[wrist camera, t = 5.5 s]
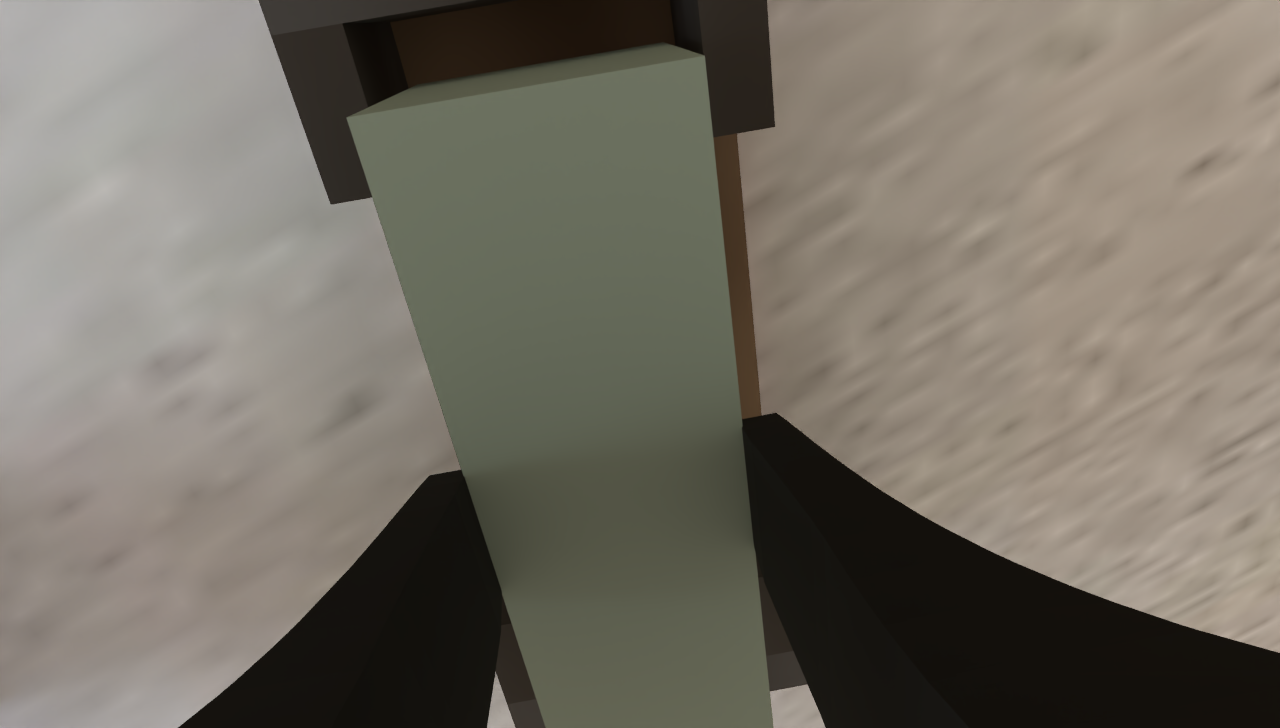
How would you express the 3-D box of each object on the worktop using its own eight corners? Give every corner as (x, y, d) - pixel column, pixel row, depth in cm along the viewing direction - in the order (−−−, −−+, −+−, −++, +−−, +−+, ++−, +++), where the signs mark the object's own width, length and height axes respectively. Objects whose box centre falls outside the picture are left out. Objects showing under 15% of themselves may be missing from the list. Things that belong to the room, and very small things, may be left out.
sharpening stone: (566, 620, 17) (564, 784, 13) (417, 84, 11) (346, 117, 8) (732, 590, 17) (775, 746, 13) (663, 41, 11) (704, 55, 8)
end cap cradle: (527, 611, 20) (519, 738, 17) (327, -42, 13) (236, -64, 9) (767, 566, 20) (810, 683, 17) (704, -106, 13) (756, -152, 9)
